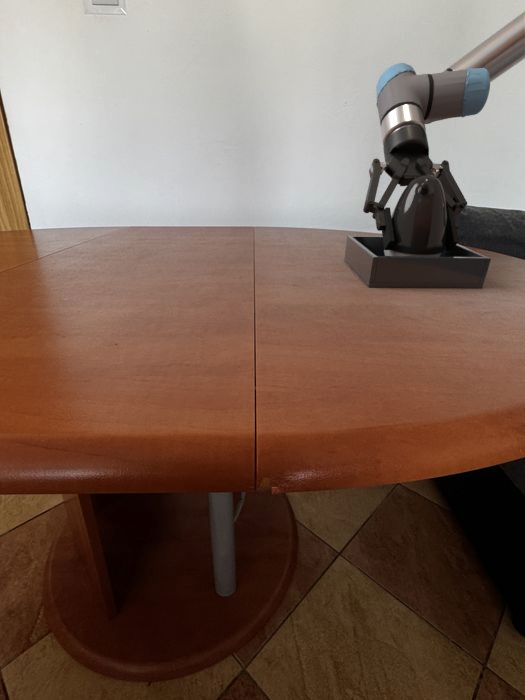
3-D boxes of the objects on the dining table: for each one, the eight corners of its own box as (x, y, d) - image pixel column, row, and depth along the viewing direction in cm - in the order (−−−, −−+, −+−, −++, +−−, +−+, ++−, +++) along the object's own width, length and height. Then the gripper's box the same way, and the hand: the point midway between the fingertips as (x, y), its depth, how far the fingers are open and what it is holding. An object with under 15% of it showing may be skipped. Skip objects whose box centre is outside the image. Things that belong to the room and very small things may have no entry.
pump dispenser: (375, 271, 65) (391, 174, 58) (382, 257, 73) (396, 171, 66) (439, 279, 62) (464, 177, 55) (438, 264, 70) (460, 174, 63)
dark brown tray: (436, 261, 75) (441, 236, 73) (482, 288, 61) (491, 258, 58) (344, 260, 74) (347, 235, 72) (368, 287, 60) (373, 257, 57)
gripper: (453, 158, 73) (473, 258, 67) (338, 155, 72) (348, 257, 66) (475, 125, 66) (501, 233, 60) (349, 121, 65) (360, 231, 59)
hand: (420, 246), depth 63 cm, fingers closed on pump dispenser, 10 cm apart
